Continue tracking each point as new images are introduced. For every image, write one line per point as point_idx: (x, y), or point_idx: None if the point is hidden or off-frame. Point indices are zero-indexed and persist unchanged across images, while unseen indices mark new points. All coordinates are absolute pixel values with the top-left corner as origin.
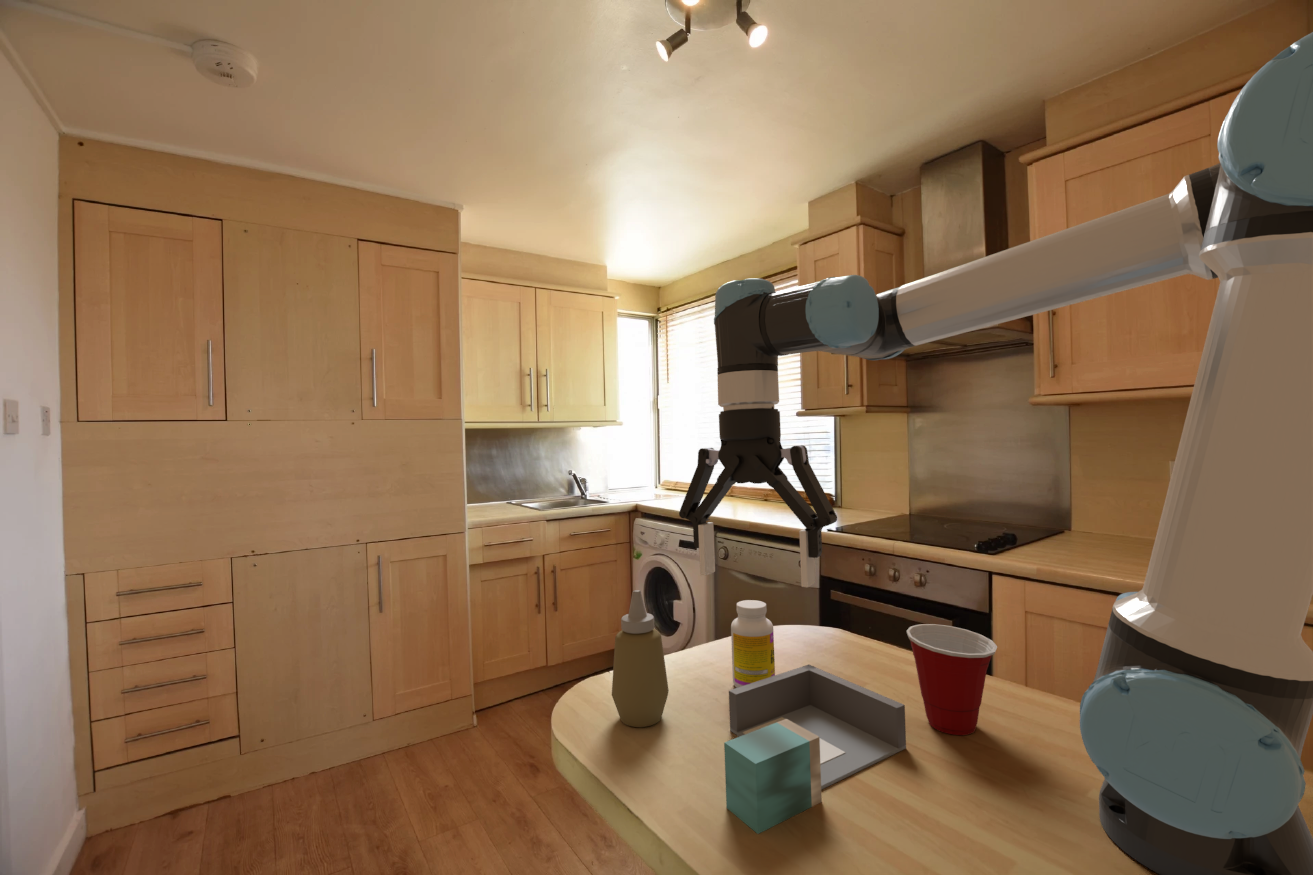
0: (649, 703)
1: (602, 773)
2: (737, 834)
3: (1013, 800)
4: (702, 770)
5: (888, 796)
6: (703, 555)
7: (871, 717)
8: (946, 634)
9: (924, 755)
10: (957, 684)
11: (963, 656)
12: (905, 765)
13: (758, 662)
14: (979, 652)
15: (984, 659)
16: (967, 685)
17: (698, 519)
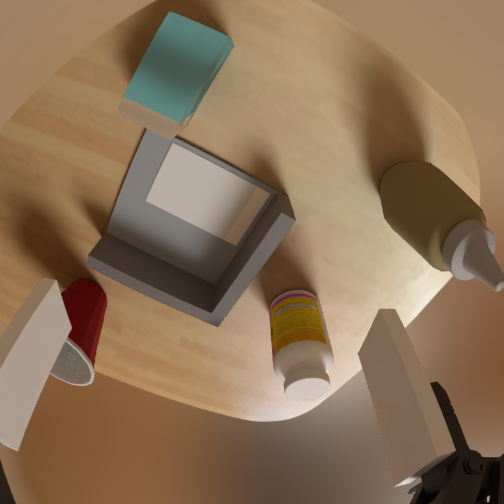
0: (396, 172)
1: (394, 59)
2: (206, 15)
3: (23, 197)
4: (289, 100)
5: (92, 148)
6: (404, 357)
7: (128, 257)
8: (75, 375)
9: (87, 234)
10: None
11: None
12: (95, 209)
13: (285, 318)
14: None
15: None
16: None
17: (459, 471)
